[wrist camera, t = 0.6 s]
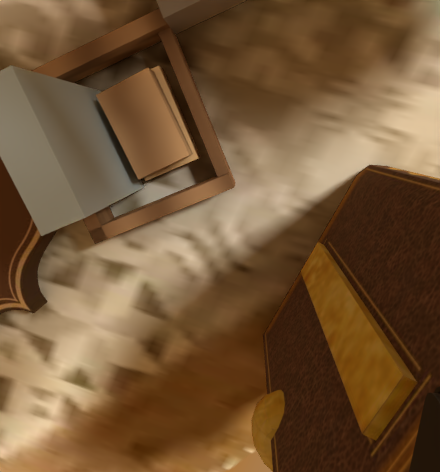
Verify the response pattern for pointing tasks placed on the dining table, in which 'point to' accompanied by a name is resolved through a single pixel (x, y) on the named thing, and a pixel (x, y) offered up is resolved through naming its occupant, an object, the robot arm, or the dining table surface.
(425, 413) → the robot arm
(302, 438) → the book
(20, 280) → the decorative plaque
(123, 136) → the offcut top
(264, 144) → the dining table surface
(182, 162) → the offcut low
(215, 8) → the holder
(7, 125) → the panel
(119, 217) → the square wooden tray
